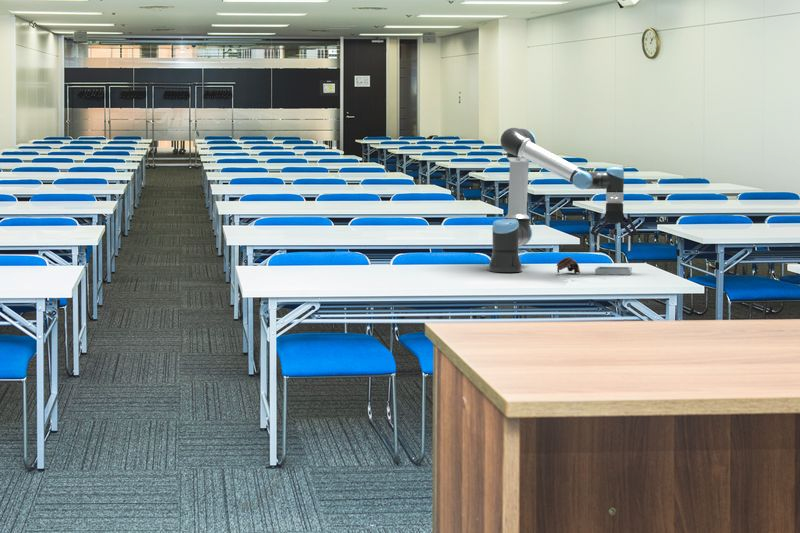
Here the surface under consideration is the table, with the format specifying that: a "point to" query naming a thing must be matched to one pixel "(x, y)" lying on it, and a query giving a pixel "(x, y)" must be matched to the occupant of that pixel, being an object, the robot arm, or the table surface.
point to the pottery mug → (568, 265)
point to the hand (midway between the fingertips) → (613, 250)
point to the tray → (613, 271)
